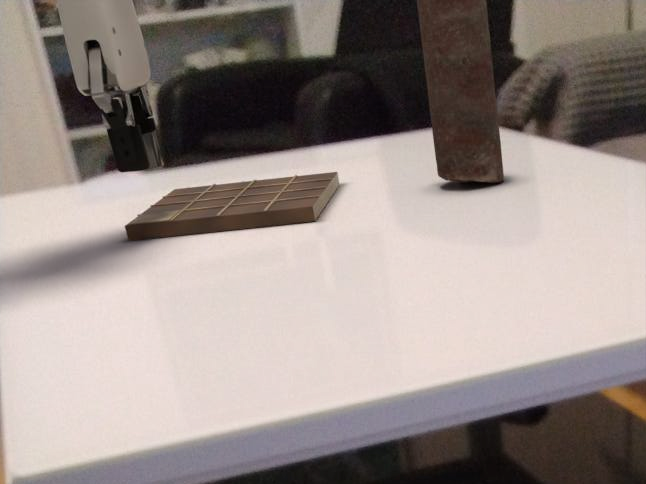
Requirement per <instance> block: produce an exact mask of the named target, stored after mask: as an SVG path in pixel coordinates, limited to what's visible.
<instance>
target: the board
mask: <svg viewBox="0 0 646 484" xmlns="http://www.w3.org/2000/svg"><path fill="white" fill-rule="evenodd" d="M339 187H340V179H339V174H338V171H333V172H332V171H331V172H322V173H312V174H304V175H298V174H295V175H294V176H285V177H275V178H267V179H265V178H264V179H253V180H248V181H239V182H229V183H219V184H216V183H212V184H211V185H210V184H209V185H201V186H200V185H199V186H192V187H191V186H190V187H183V188H174V189H173V190H171V191H170V192H169V193H167V194H166V195H163V196H162V198H160V199H159V200H158V201H157V202H155V203H154V204H150V207H148V208H147V209H146V210H144V211H143V212H141V213H138V214H137V216H136V217H134V219H132V220H130V221H129V222H128V223H127V224H125V225H124V229H125V233H126V237H127V240H128V241H131V242H132V241H141V240H148V239H150V240H151V239H158V238H159V239H160V238H167V237H179V236H187V235H197V234H207V233H217V232H225V231H226V232H227V231H236V230H245V229H255V228H256V229H257V228H264V227H265V228H266V227H274V226H284V225H293V224H294V225H295V224H302V223H303V224H304V223H313V222H314V223H315V222H316V221H317V220H318V218H319V216H320V215H321V213H322V212H323V210H324V209H325V207H326V206H327V204H328V202H329V201H330V200H331V198H332V197H333V196H334V194H335V192H336V191H337V189H338V188H339Z"/></svg>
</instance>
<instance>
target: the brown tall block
mask: <svg viewBox="0 0 646 484" xmlns="http://www.w3.org/2000/svg"><path fill="white" fill-rule="evenodd" d="M416 4H417V11H418V21H419V30H420V39H421V46H422V53H423V54H422V55H423V65H424V71H425V72H424V73H425V79H426V87H427V95H428V96H427V97H428V107H429V114H430V122H431V130H432V139H433V148H434V156H435V163H436V171H437V176H438V177H439V178H441V179H442V180H444V181H449V182H453V183H456V184H460V185H461V184H464V183H470V182H478V183H490V184H496V183H501V182H502V181H503V180H504V178H505V174H504V166H503V165H504V163H503V155H502V142H501V133H500V125H499V124H500V123H499V116H498V115H499V114H498V107H497V96H496V87H495V79H494V78H495V77H494V65H493V56H492V45H491V35H490V27H489V15H488V14H489V13H488V3H487V0H416Z"/></svg>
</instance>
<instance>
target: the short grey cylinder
mask: <svg viewBox="0 0 646 484" xmlns="http://www.w3.org/2000/svg"><path fill="white" fill-rule="evenodd" d="M141 133H142V137H143V141H144V145H145V149H146V152H147V156H148V160H149V164H150V167H149V168H148V169H146V170H145V171H147V170H153V169H156V168H157V169H158V168H160V167H163V166H164V165H165V161H164V157H162V153H161V149H160V145H159V141H158V137H157V133H156V130H141ZM141 171H143V170H139V171H138V172H141ZM133 172H134V173H135V171H130V172H129V173H133Z"/></svg>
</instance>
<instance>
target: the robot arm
mask: <svg viewBox="0 0 646 484" xmlns="http://www.w3.org/2000/svg"><path fill="white" fill-rule="evenodd" d="M56 5H57V11H58V15H59V20H60V25H61V29H62V34H63V37H64V41H65V46H66V50H67V53H68V57H69V61H70V65H71V69H72V73H73V77H74V81H75V84H76V88H77V90H78V91H79V93H81V94H82V95H83V96H85V97H90V96H91V98H92V100H93V101H94V103H95V104H96V105H97V106H98V107H97V108H98V111H99V112H100V113H101V116H102V122H103V125H104V128H105V129H106V133H107V136H108V141H109V144H110V147H111V151H112V155H113V158H114V161H115V165H116V168H117V170H118V172H119V173H131V172H130V171H134V172H140V171H139V170H142V171H147V170H146V169H148V168H149V167H150V164H149V160H148V156H147V152H146V149H145V145H144V141H143V137H142V133H141V130H156V133H157V137H158V141H159V145H160V149H161V153H162V157H163V158H164V151H163V149H162V145H161V144H162V143H161V141H160V137H159V133H158V128H157V125H156V121H155V117H154V111H153V107H152V104H151V101H150V98H149V91H148V81H149V80H150V78H151V76H152V73H151V66H150V60H149V56H148V52H147V48H146V44H145V40H144V37H143V33H142V30H141V24H140V22H139V18H138V15H137V11H136V8H135V5H134V2H133V0H56ZM112 88H114V90H110V89H112ZM148 170H149V169H148Z"/></svg>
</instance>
